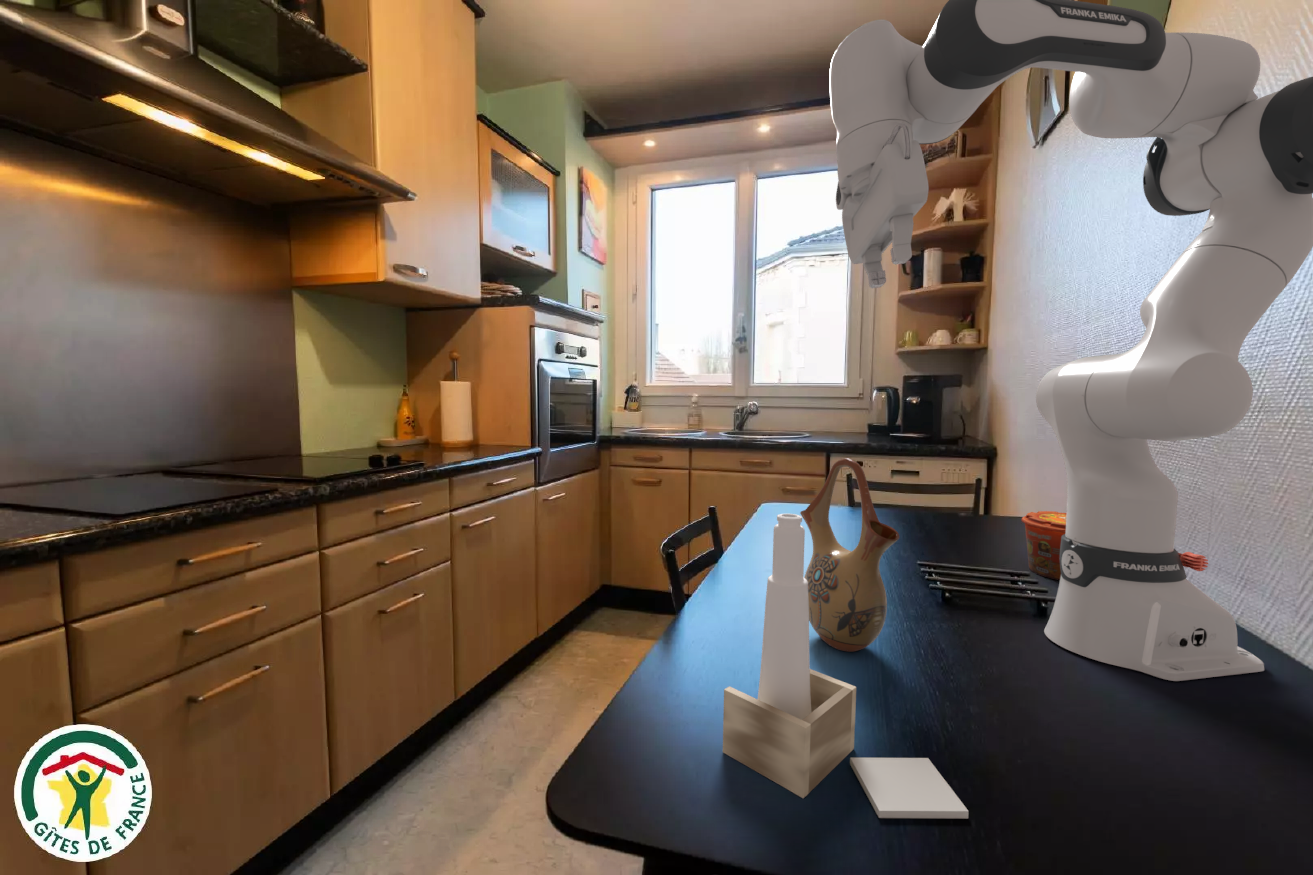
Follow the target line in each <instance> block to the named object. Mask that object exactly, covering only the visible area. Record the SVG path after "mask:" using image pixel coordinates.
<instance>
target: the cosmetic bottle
mask: <svg viewBox="0 0 1313 875" xmlns="http://www.w3.org/2000/svg"><path fill="white" fill-rule="evenodd" d="M776 520H777V524H775V525H774V526H773V538H772V542H773V543H772V573H771V575H770V576H768V577H767V583H766V595H765V602H764V603H765V606H764V617H763V618H764V619H763V633H762V646H761V657H760V658H761V661H760V673H759V681H758V682H759V684H758V691H757V692H758V693H757V699H758V700H760V701H762V702H764V703H766V704H769V705H771V706H773V707H775V708H777V709H779V710H782V711H784V712H786V713H788V714H790V715H792V716H794V717H797V718H799V719H801V720H803V719H804V718H805V717H806V716H808V715H809V714H810V713H812V711H811V695H810V669H811V667H810V666H811V665H810V664H811V663H810V621H809V601H808V581H807V580H806V579H805V578H804V577H805V576H804V575H805V572H804V568H805V566H804V565H805V541H806V540H805V539H806V538H805V536H806V535H805V534H806V531H805V528H804V526H802V525H801V523H802V522H803V517H802V516H801V515H799V514H796V513H780V514H777V516H776Z"/></svg>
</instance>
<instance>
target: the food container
mask: <svg viewBox="0 0 1313 875" xmlns="http://www.w3.org/2000/svg"><path fill="white" fill-rule="evenodd" d="M1066 513H1067V512H1058V511H1052V510H1044V511H1042V510H1040V511H1039V510H1038V511H1037V512H1033V511H1030V512H1028V513H1026V515H1025V516H1022V517H1021V523H1022V524H1023V523H1024V529H1025V530H1024V531H1025V538H1026V549H1027V560H1028V568H1029V570H1030V571H1031V572H1032V573H1034V574H1036V575H1039V576H1040V577H1044V578H1048V579H1052V580H1056V581H1060V578H1061V570H1060V559H1059V558H1060V546H1061V537H1062V535H1064V534H1065V532H1066Z"/></svg>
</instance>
